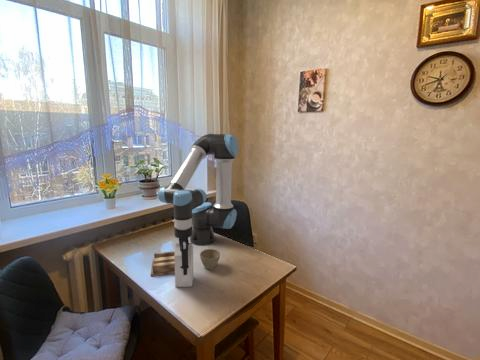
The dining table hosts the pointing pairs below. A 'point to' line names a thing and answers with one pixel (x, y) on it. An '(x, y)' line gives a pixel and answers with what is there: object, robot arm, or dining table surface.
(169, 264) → the display stand
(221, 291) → the dining table surface
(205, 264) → the flower pot
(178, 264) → the milk carton
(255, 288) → the dining table surface
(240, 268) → the dining table surface
